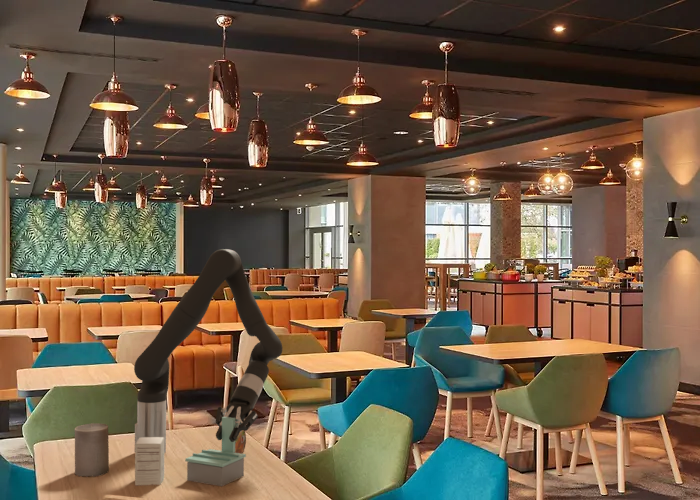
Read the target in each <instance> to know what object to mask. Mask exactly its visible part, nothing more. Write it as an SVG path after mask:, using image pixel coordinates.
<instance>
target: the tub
mask: <svg viewBox="0 0 700 500" xmlns="http://www.w3.org/2000/svg"><path fill="white" fill-rule="evenodd" d="M186 463H187V465H186V466H187V471H186V474H187V475H186V480H187V481H189V482H194V483H202V484H205V485H213V486H217V487H223V486H226V485H228V484H230V483H233V482H234V481H236V480H239V479H241V478H242V477H244V475H245V474H244V472H245V465H244V464H245V458H242V459H240V460H238V461H235V462H233V463H231V464H228V465H226V466H224V467H219V466H212V465H206V464H199V463H193V462H187V461H186Z"/></svg>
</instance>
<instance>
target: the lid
mask: <svg viewBox="0 0 700 500" xmlns="http://www.w3.org/2000/svg"><path fill="white" fill-rule="evenodd" d="M235 424H236V421H235V418H231V417H222V439H221V449H218V450H217V449H214V448H213V449H211V448H209V449H207V450H206V449H202V450H201V452H199V453H195V452H193V453H192V455H191V456H188V457H185V462H186V463H187V462H193V463H199V464H206V465H212V466H219V467H224V466H226V465H228V464H231V463H233V462H235V461H238V460H240V459H242V458H244V459H245V458H246V457H247V454H246V453H234V452H235V441H234V442H231V441H230V440H229V437H230V435H231V433H232V430H233V429H234V428H235Z"/></svg>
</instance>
